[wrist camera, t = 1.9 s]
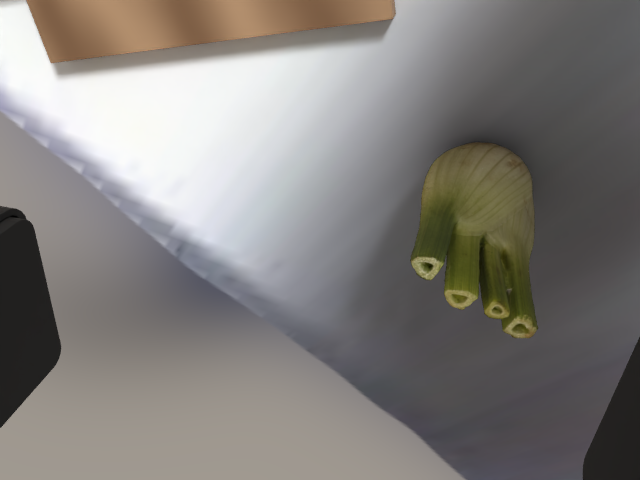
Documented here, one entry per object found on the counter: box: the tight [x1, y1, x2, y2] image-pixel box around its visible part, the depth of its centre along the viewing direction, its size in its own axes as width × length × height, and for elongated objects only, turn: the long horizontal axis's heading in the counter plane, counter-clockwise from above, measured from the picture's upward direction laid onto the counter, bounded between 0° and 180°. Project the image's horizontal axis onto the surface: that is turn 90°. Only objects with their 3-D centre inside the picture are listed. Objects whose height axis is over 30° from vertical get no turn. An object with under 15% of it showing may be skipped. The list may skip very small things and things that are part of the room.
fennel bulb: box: [410, 142, 538, 338], centre depth 27 cm, size 6×5×12 cm
